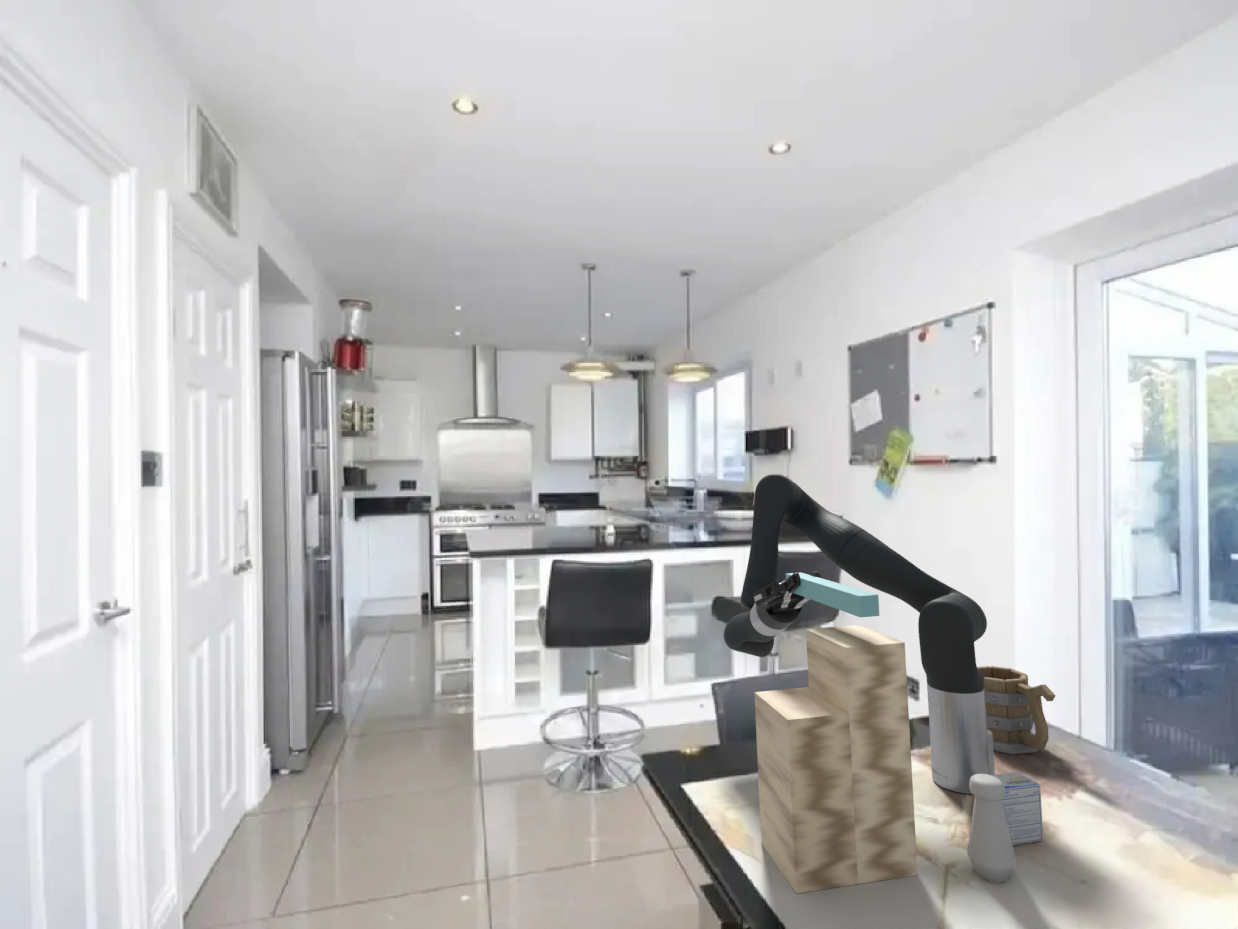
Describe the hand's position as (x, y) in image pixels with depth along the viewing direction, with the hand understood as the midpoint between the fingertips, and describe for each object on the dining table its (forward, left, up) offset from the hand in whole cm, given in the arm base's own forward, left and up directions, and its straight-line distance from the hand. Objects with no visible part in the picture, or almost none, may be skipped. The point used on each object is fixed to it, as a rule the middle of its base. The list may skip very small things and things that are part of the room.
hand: (807, 577), depth 107 cm
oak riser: (+5, +14, -39) cm, 41 cm away
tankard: (-48, -12, -39) cm, 64 cm away
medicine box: (-23, +15, -39) cm, 48 cm away
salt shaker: (-14, +22, -39) cm, 47 cm away
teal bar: (0, +7, -3) cm, 7 cm away
